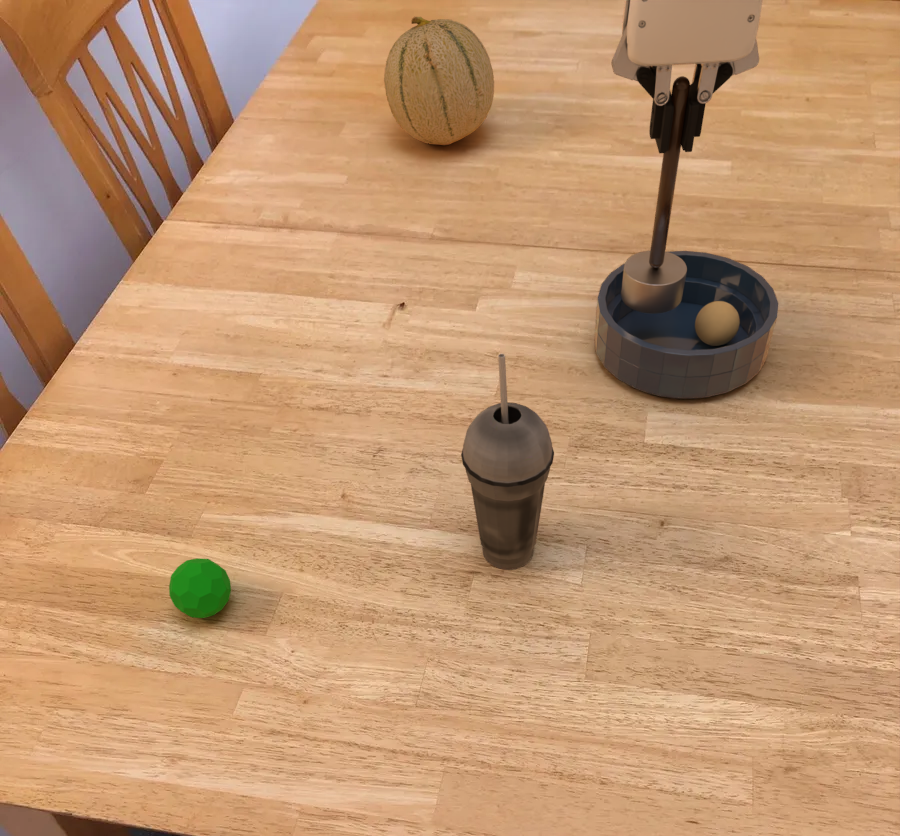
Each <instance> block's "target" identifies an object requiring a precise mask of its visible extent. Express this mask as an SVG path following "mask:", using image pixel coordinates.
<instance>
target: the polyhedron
mask: <svg viewBox="0 0 900 836" xmlns="http://www.w3.org/2000/svg"><path fill="white" fill-rule="evenodd" d="M168 591H169V594H168V595H169V597H170V599H171V602H172V604H173V606H174V607H175V608H176V609H177V610H179V611H180V612H181V613H183V614H185V615H186V616H188V617H190V618H192V619H193V618H195V619H204V618H205V619H206V618H209V617H212V616H215V615H216V614H218V613H219V612H221V611H222V610H223V609H224V608H225V606H226V605H227V603H228V602H229V600H230V597H231V592H232V586H231V580H230V577H229V575H228V573H227V571H226V569H225V568H223V567H222V566H220V565H219V564H218V563H216V562H214V561H213V560H211V559H209V558H197V557H195V558H193V559H187V560H185V561H184V562H183V563H181V564H180V565H179V566H177V567H176V569H175V570H174V571H173V573H172V574H171V575H170V580H169V585H168Z"/></svg>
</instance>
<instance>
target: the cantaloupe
mask: <svg viewBox="0 0 900 836" xmlns="http://www.w3.org/2000/svg"><path fill="white" fill-rule="evenodd" d="M410 22H411V25H412V24H413V25H414V24H416V25H415V26H412V27H410V29H408V30H406V31H405V32H404V33H402V34H401V35H400V36H399V37H398V38H397V39H396V41H395V42H394V43H393V44H392V47H391V48H390V50H389V52H388V55H387V58H386V61H385V66H384V73H383V74H384V75H383V76H384V77H383V83H384V89H385V90H384V91H385V96H386V100H387V103H388V107H389V109H390V112H391V113H392V116H393V118H394V119H395V121H396V123H397V124H398V125H399V126H400V128H401V129H402V130H403V131H404V132H405V133H407V134H408V135H409V136H410V137H411V138H413V139H415V140H417V141H419V142H422V143H424V144H428V143H429V144H430V145H440V146H448V145H451V144H453V143H456V142H458V141H460V140H462V139H464V138H466V137H467V136H469V135H471V134H472V133H474V132H475V131H476V130H478V129H479V128H480V127H481V126H482V124H483V123H484V121H485V120H486V118H487V117H488V115H489V113H490V111H491V108H492V105H493V100H494V95H495V76H494V69H493V66H492V62H491V59H490V56H489V54H488V51H487V49H486V47H485V46H484V43H483V42H482V41H481V39H480V38H479V37H478V36H477V34H476V33H475V32H473V30H471V28H470V27H468V26H467V25H465V24H463V23H461V22H459V21H457V20H453V19H448V18H444V19H443V18H439V19H431V20H427V19H424V18H423V17H422V16H413V17H412V18H411V21H410Z"/></svg>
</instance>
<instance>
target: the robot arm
mask: <svg viewBox="0 0 900 836" xmlns="http://www.w3.org/2000/svg"><path fill="white" fill-rule="evenodd" d="M623 5H624V6H623V13H622V21H621V23H622V24H621V37H620V39H619V42H618V44H617V47H616V49H615V52H614V54H613V56H612V59H611V68H612V72H613V74H614V75H616V76H619V77H622V78H623V79H627V80H630V81H635V82H637V83H638V84H639V85H640V86H641V87H642V88H643V89H644V90H645V92H646V93H647V94H648V95H649V96H650V97H651V98H652V105H651V113H650V121H649V130H648V131H649V138H650V140H655V143H656V148H657V150H658V151H657V152H658V153H659V154H664V153H666V151H668V149H669V142H670V134H671V127H672V120H673V113H674V105H673V102H672V100H671V97H672V91H671V82H672V72H673V71H672V70H673V66H683V65H684V66H685V65H694V70H693V75H692V80H691V83H690V89H689V96H688V102H687V109H686V116H685V122H684V129H683V136H682V142H681V149H682V151H683V152H685V153H691V152H693V147H694V142H695V138H699V137H701V135H702V128H703V121H704V116H705V109H706V104H708V103H709V102H710V101H711V100H712V98H713V94H715V92H717V91H718V90H719V89H720V88H721V87H722V86H723V85H724V84H725V83H726V82H727V81H729V80H730V78H731V77H732V76H736V75H740V74H742V73H744V72H747V71H749V70H751V69H754V68H756V67H757V66H758V65H759V63H760V55H759V47H758V41H757V40H758V39H757V37H758V32H759V26H760V20H761V13H762V7H763V0H624V4H623Z"/></svg>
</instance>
